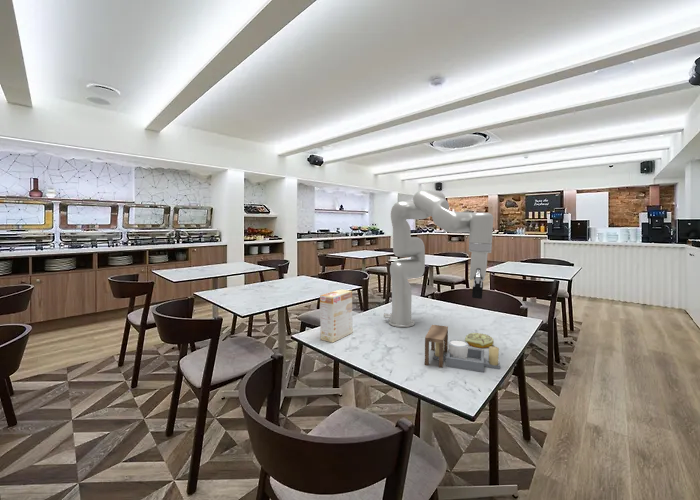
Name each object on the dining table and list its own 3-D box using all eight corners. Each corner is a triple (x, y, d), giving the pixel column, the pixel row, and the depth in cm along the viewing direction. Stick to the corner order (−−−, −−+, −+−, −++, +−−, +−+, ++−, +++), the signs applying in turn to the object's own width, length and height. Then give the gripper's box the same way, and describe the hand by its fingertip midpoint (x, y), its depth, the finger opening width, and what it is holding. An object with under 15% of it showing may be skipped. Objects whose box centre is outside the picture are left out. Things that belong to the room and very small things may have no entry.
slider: (431, 363, 113) (431, 345, 113) (436, 351, 124) (436, 334, 124) (500, 374, 105) (501, 355, 104) (499, 360, 116) (499, 342, 115)
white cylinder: (459, 368, 111) (459, 348, 110) (443, 360, 117) (444, 342, 116) (472, 363, 115) (472, 344, 114) (456, 356, 120) (457, 338, 120)
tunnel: (424, 366, 112) (425, 337, 112) (431, 350, 126) (431, 324, 126) (442, 369, 110) (443, 339, 109) (447, 352, 124) (448, 326, 123)
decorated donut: (460, 345, 132) (460, 336, 132) (472, 338, 140) (472, 329, 139) (486, 352, 125) (486, 342, 124) (497, 344, 132) (497, 335, 132)
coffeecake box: (340, 330, 151) (340, 288, 149) (353, 333, 147) (353, 290, 145) (319, 339, 139) (319, 294, 137) (332, 343, 135) (332, 297, 133)
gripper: (470, 245, 124) (467, 288, 126) (467, 249, 108) (464, 299, 110) (491, 246, 121) (488, 290, 123) (491, 250, 106) (488, 302, 108)
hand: (477, 294), depth 117 cm, fingers open, 9 cm apart
